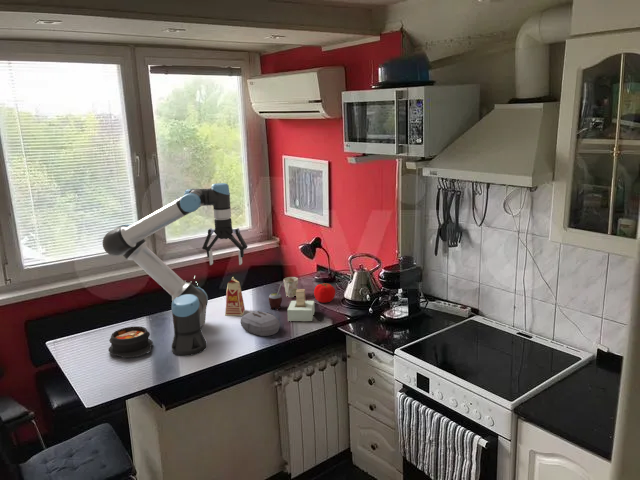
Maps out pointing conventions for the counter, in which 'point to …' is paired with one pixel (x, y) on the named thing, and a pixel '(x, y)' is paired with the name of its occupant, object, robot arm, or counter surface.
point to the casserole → (130, 342)
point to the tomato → (324, 292)
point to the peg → (300, 297)
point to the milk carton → (234, 299)
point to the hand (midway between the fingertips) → (226, 264)
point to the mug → (291, 286)
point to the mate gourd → (275, 299)
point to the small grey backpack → (260, 323)
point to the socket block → (301, 311)
